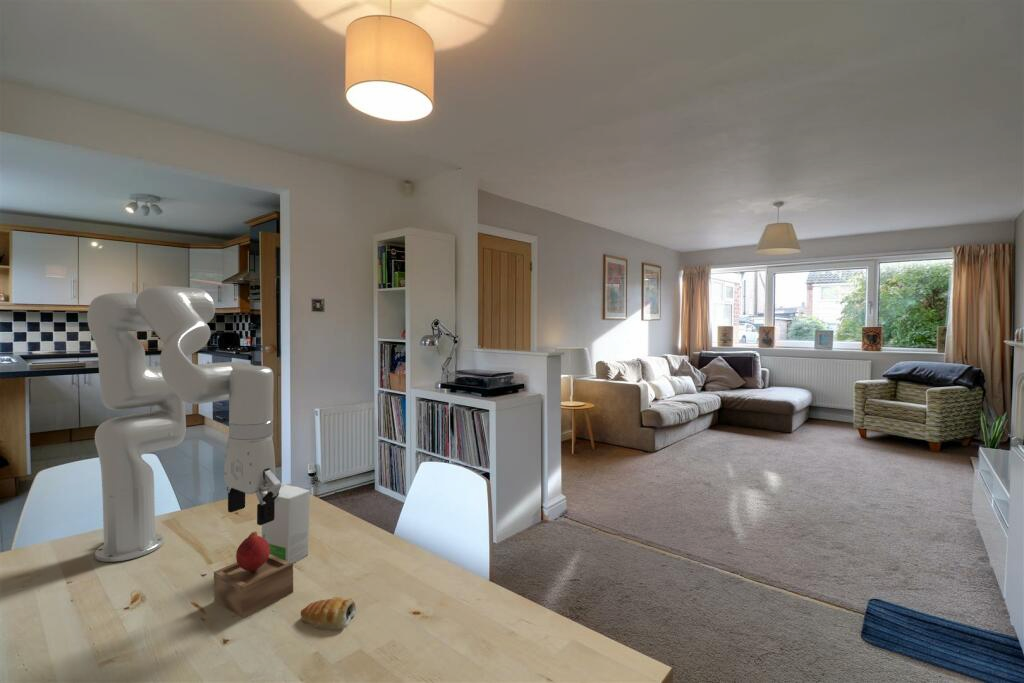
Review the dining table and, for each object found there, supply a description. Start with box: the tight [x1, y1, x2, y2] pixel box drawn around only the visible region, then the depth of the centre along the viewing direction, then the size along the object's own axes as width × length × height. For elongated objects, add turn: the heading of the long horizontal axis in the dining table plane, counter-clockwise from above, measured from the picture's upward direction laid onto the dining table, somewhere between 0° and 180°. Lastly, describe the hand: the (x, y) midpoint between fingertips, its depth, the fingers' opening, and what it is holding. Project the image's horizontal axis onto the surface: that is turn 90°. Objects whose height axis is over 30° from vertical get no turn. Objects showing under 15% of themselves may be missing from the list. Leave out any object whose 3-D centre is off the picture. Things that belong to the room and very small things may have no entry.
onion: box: [235, 530, 270, 572], centre depth 95 cm, size 6×6×8 cm
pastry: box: [300, 596, 357, 631], centre depth 89 cm, size 9×7×4 cm
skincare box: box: [261, 484, 311, 565], centre depth 111 cm, size 8×7×16 cm
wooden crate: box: [213, 554, 294, 619], centre depth 96 cm, size 10×10×6 cm
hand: (250, 516), depth 95 cm, fingers open, 9 cm apart
